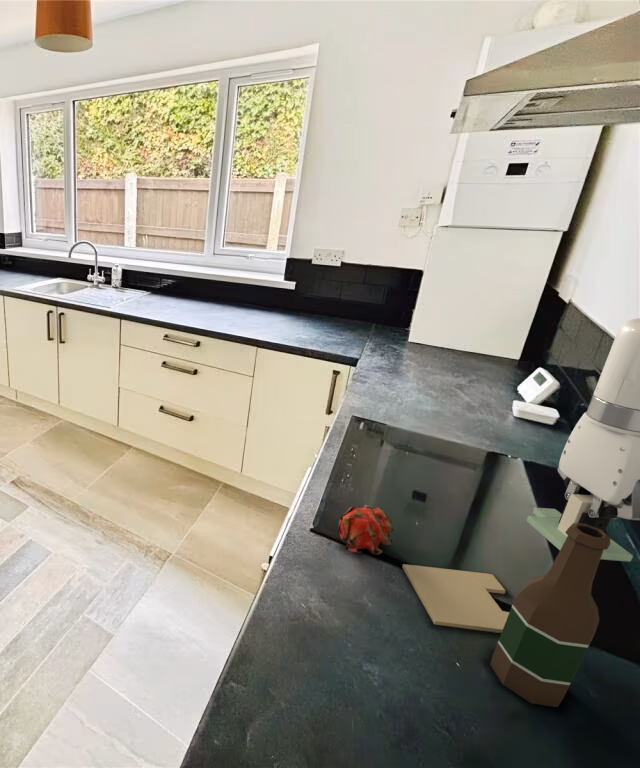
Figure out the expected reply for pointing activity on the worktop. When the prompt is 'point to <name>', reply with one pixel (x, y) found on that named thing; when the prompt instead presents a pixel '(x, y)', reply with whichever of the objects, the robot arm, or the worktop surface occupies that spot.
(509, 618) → the beer bottle
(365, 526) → the dragon fruit
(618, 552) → the sage pad
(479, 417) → the worktop surface
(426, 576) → the sand mat
